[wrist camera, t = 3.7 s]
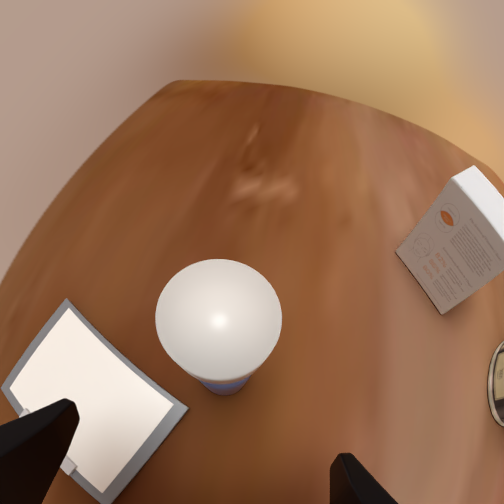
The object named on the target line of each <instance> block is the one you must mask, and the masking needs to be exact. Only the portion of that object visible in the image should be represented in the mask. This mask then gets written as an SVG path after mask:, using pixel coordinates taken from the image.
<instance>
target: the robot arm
mask: <svg viewBox="0 0 504 504" xmlns="http://www.w3.org/2000/svg"><path fill="white" fill-rule="evenodd" d="M79 421H80V416H79V413H78V410H77V406H76V404H75V402H74V401H71V400H69V399H67V398H63V399H61V400H59V401H56V402H54V403H52V404H50V405H48V406H45V407H43V408H41V409H39V410H36V411H34V412H32V413H29V414H27V415H25V416H22V417H20V418H18V419H15V420H13V421H10V422H8V423H6V424H3V425H1V426H0V504H42V502H43V500H44V498H45V496H46V493H47V491H48V489H49V487H50V485H51V483H52V481H53V479H54V477H55V476H56V474H57V472H58V470H59V468H60V466H61V464H62V462H63V460H64V458H65V456H66V454H67V452H68V450H69V447H70V445H71V442H72V439H73V437H74V434H75V432H76V429H77V427H78V424H79ZM330 504H398V503H397V502H396V501H395V500H394V499H393V498H392V497H391V496H390V495H389V493H388V492H387V491H386V490H385V489H384V488H383V487H382V486H381V485H380V484H379V483H378V482H377V481H376V480H375V479H374V477H373V476H372V475H371V474H370V473H369V472H368V471H367V470H366V469H365V468H364V467H363V465H362V464H361V463H360V462H359V461H358V460H357V459H356V458H355V456H354V455H353V454H351V453H340V454H338V456H337V457H336V459H335V460H334V462H333V463H332V465H331V467H330Z"/></svg>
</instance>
